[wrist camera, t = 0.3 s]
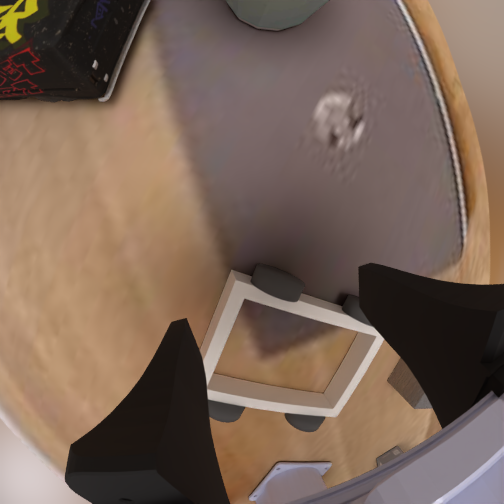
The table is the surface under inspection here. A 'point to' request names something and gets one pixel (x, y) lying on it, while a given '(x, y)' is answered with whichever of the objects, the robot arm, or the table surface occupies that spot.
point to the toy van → (65, 47)
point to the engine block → (408, 386)
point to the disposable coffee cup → (274, 12)
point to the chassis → (272, 397)
